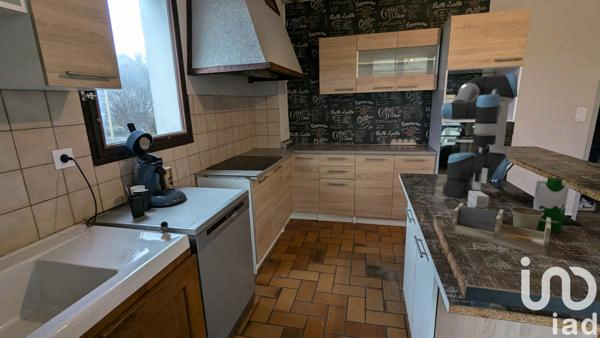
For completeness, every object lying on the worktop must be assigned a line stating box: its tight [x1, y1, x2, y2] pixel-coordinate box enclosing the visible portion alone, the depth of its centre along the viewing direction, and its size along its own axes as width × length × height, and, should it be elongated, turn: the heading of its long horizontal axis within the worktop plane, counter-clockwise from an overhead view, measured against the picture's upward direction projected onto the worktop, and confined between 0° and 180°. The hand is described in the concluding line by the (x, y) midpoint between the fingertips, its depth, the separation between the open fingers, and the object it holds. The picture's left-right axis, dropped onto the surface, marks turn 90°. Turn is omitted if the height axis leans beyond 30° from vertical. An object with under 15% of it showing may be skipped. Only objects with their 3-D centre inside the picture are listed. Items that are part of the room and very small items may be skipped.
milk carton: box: [532, 177, 570, 234], centre depth 104 cm, size 9×9×20 cm
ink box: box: [466, 190, 490, 210], centre depth 115 cm, size 9×5×12 cm, turn 169°
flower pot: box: [510, 206, 544, 231], centre depth 101 cm, size 9×9×9 cm
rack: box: [450, 202, 551, 257], centre depth 98 cm, size 12×27×9 cm, turn 48°
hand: (479, 186), depth 113 cm, fingers open, 13 cm apart
